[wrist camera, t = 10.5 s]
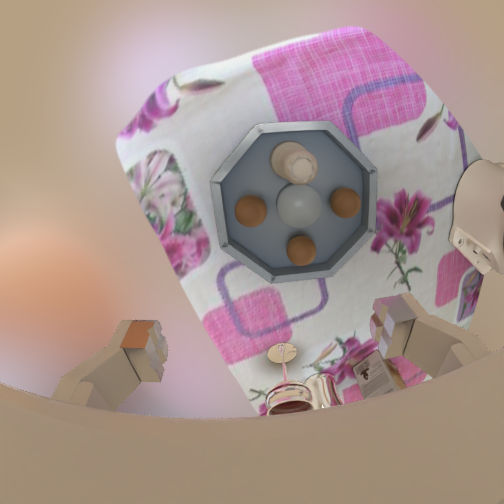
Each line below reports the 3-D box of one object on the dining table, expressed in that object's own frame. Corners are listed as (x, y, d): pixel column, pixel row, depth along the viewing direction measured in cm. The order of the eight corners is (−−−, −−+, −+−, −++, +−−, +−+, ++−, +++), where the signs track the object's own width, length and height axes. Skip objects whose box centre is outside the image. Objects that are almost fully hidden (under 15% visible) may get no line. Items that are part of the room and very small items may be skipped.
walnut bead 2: (318, 242, 35) (325, 255, 31) (299, 262, 36) (304, 276, 32) (298, 225, 33) (303, 236, 30) (278, 246, 35) (282, 259, 31)
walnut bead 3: (359, 197, 32) (371, 206, 29) (340, 218, 33) (350, 229, 30) (340, 178, 31) (351, 184, 28) (320, 200, 32) (329, 209, 29)
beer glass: (324, 365, 46) (343, 434, 33) (343, 379, 48) (363, 441, 35) (294, 384, 48) (306, 451, 34) (315, 395, 50) (329, 457, 37)
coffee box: (396, 364, 48) (425, 424, 33) (372, 382, 50) (396, 443, 35) (376, 348, 45) (408, 416, 31) (350, 368, 47) (374, 437, 32)
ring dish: (392, 194, 33) (403, 200, 30) (298, 292, 39) (302, 305, 36) (286, 90, 27) (290, 86, 25) (186, 212, 33) (180, 220, 31)
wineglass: (287, 370, 46) (296, 426, 35) (254, 359, 44) (257, 418, 34) (310, 346, 44) (325, 404, 33) (276, 333, 42) (284, 394, 31)
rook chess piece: (287, 185, 31) (300, 204, 24) (260, 158, 30) (266, 168, 23) (315, 160, 30) (337, 171, 23) (289, 132, 29) (304, 133, 21)
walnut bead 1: (272, 204, 32) (275, 213, 29) (252, 226, 33) (253, 238, 30) (248, 185, 31) (248, 192, 28) (228, 209, 32) (227, 218, 29)
